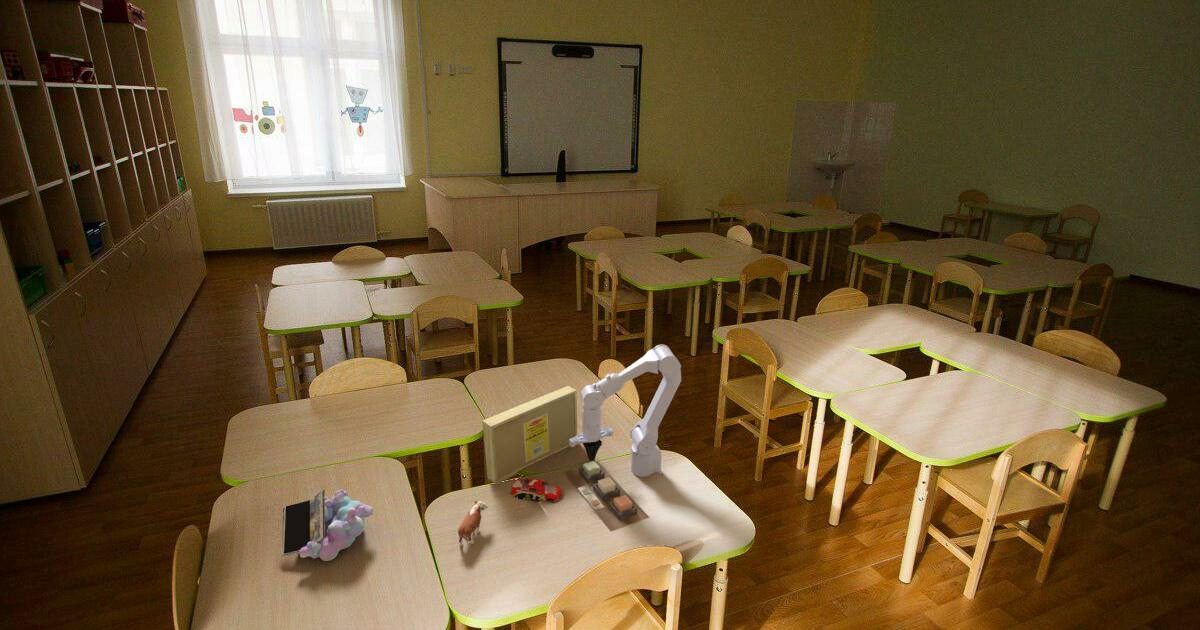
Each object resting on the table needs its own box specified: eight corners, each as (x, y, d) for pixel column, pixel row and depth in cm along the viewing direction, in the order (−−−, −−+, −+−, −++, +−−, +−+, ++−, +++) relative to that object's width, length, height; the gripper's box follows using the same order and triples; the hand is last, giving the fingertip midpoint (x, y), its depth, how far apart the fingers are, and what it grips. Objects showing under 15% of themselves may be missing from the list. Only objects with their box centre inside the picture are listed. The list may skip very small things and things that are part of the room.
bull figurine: (491, 521, 185) (489, 498, 182) (467, 552, 173) (465, 528, 171) (478, 518, 187) (476, 495, 184) (453, 549, 175) (451, 524, 172)
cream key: (609, 483, 199) (609, 477, 198) (615, 490, 195) (615, 484, 195) (597, 487, 197) (597, 480, 196) (603, 494, 194) (604, 487, 193)
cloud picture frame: (392, 522, 178) (362, 466, 177) (330, 569, 160) (296, 507, 159) (351, 534, 189) (323, 481, 188) (288, 580, 170) (257, 521, 169)
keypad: (597, 464, 213) (597, 456, 212) (649, 519, 186) (649, 511, 185) (562, 474, 207) (562, 467, 206) (610, 534, 181) (610, 525, 180)
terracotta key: (625, 501, 191) (625, 494, 190) (632, 509, 187) (632, 502, 186) (613, 505, 189) (613, 498, 188) (620, 513, 185) (620, 506, 185)
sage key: (594, 467, 207) (594, 460, 206) (599, 473, 204) (599, 467, 203) (583, 470, 205) (583, 464, 204) (588, 477, 202) (588, 470, 201)
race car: (565, 494, 198) (565, 480, 196) (559, 507, 192) (558, 493, 190) (517, 485, 202) (516, 472, 200) (508, 498, 196) (508, 484, 194)
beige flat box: (569, 439, 227) (568, 385, 219) (578, 444, 224) (577, 389, 216) (486, 478, 205) (482, 420, 197) (494, 485, 202) (490, 425, 194)
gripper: (605, 411, 204) (605, 447, 209) (564, 422, 198) (565, 459, 203) (616, 421, 199) (615, 458, 203) (574, 432, 192) (575, 470, 197)
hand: (591, 459), depth 203 cm, fingers closed
